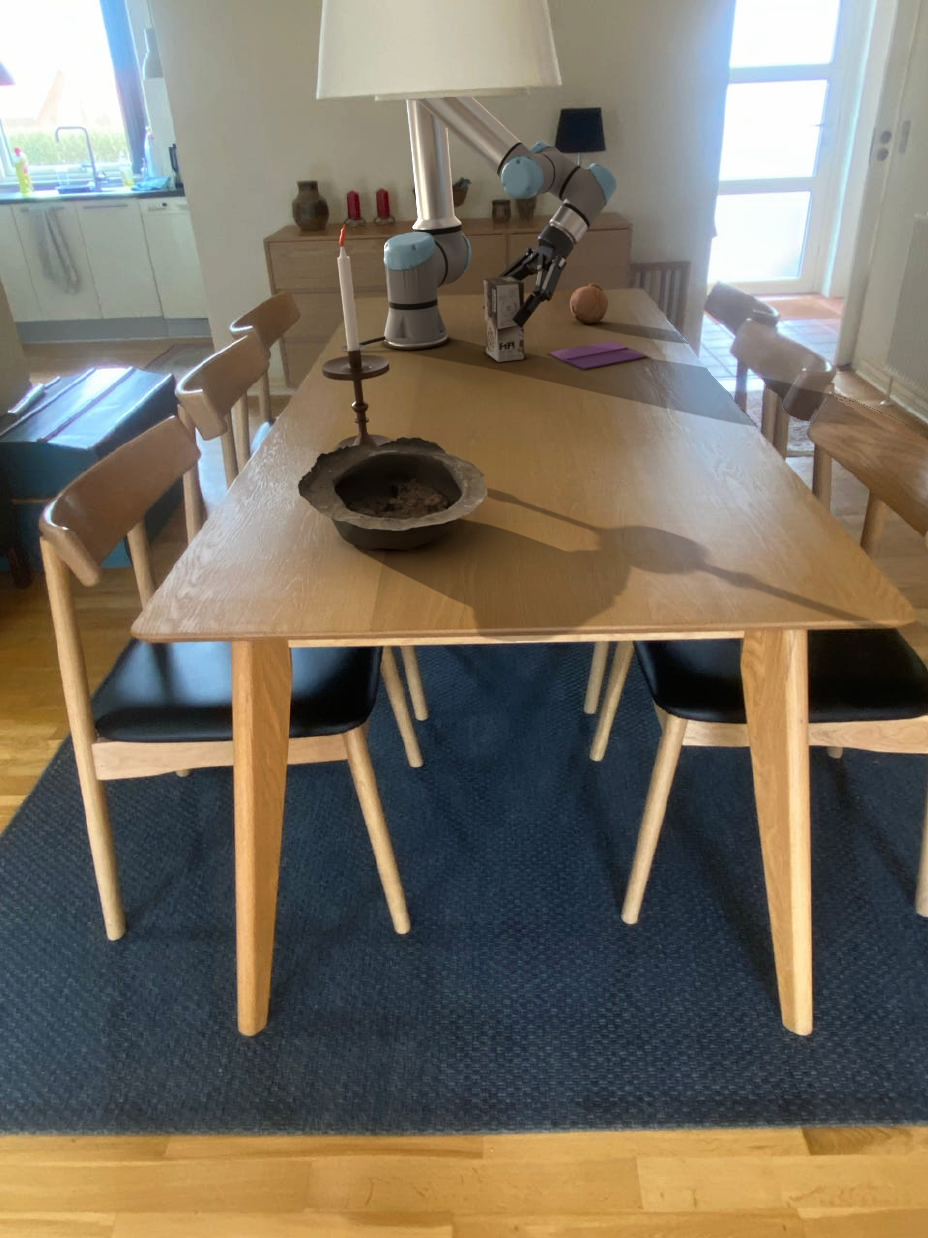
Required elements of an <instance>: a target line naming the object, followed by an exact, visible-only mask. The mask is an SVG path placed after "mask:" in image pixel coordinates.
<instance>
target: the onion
mask: <svg viewBox="0 0 928 1238" xmlns="http://www.w3.org/2000/svg"><path fill="white" fill-rule="evenodd" d="M608 307H609V299H608V297H607V294H606V293H605V292H604V290H603V289H602V288H601V286H599V285H598V284H597V283H594V282H592V283H588V284H586V285H584V286H580V287H579V288H577V289H576V290H574V292H573V293H572V295H571V297H570V300H569V308H570V312H571V313H572V315H573V317H575V319H576V321H577V322H580V324H583V325H586V324H587V325H588V324H595V323H600V321H602V320H603V319H604V317H605V315H606V314H607V311H608Z"/></svg>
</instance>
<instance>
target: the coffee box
mask: <svg viewBox="0 0 928 1238" xmlns="http://www.w3.org/2000/svg"><path fill="white" fill-rule="evenodd" d="M483 294H484V295H483V296H484V297H483V298H484V303H483V304H484V305H485V309H484V322H485V323H484V328H485V329H484V330H485V352H486V354H487V355H488V356H490V357H491V358H492V359H493V360H494V361H496V362H498V363H502V362H511V361H519V360H520V361H521V360H524V359H525V324H524V325H523V327H522V328H521V327H519V326H518V325H517V324H516V323H515V322H514V321H513V320H512V319H513V317H514V316H515V315H516V313H517V312H518V310H519V309H520V308H521V306H522V305H523V304H524V302H525V282H523V280H521V281H520V280H517V279H515V278H513V277H511V276H503V277H498V276H497V277H491V278H484V279H483Z"/></svg>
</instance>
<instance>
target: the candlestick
mask: <svg viewBox="0 0 928 1238" xmlns="http://www.w3.org/2000/svg"><path fill="white" fill-rule="evenodd" d="M345 241H346V224H345V223H344V224H343V227H342V229H341V230H340V237H339V241H338V244H339V246H340V249H339V250H340V252H339V256H338V257H336V259H337V267H338V274H339V275H338V276H339V284H340V285H339V286H340V293H341V301H342V311H343V318H344V319H343V320H344V328H345V336H346V345H344V346H342V347H341V348H340V349H341V351H343V352H347V355H344V356H339V357H336V358H333V359H329V360H327V361H325V362H324V363H323V364H322V365H321V371H322V375H323V377H325V378H326V379H329V380H334V381H345V382H347V381H348V382H349V381H351V382H353V389H354V390H353V391H354V399H355V400H354V401H355V402H353V403H352V404H351V408H352V411H353V412H354V413H356V418H354V424H357V427H358V434H357V435H353V436H349V437H347V438H344V439H343V440H341V441H340V442H338V445H337V449H338V448H339V447H341V448H342V449H344V448H345V447H346V446H349V447H351V446H355V445H359V446H362V445H365V446H368V445H370V447H378V446H379V445H382V444H384V443H387V442H391V441H392V440H391V439H390V438H389V437H387V436H385V435H381V434H374V433H373V434H369V432H368V428H367V426H368V425H367V423H369V422H370V418H369V417H367V414H366V412H367V411H368V409H369V406H370V405H369V403H368V402H367V401H365V400H364V391H363V383H362V382H363V381H365V380H369V379H374V378H378V377H381V376H384V375H385V374H387V373H388V372H389V371H390V361H389V359H388V358H386V357H384V356H380V355H374V354H362V350H365V349H366V348H367V346H366V345H359V343H360V340H359V331H358V321H357V313H356V304H355V294H354V285H353V274H352V266H351V258H350V256H348V255H347V253H346V250H345V247H344V246H345Z"/></svg>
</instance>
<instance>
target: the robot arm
mask: <svg viewBox="0 0 928 1238" xmlns="http://www.w3.org/2000/svg"><path fill="white" fill-rule="evenodd" d="M405 101H406V109H407V119H408V129H409V138H410V148H411V149H410V151H411V158H412V169H413V179H414V180H413V181H414V188H415V198H416V199H415V200H416V208H417V209H416V210H417V220H416V221H415V223H413V224H414V225H413V226H412V232H406V233H404V234H403V233H402V234H398V235H394V236H392V237H391V238H389V239H388V240H386V242H385V243H384V246H383V247H384V249H383V252H384V253H383V254H384V255H383V263H384V270H385V281H386V291H387V300H388V313H387V319H386V322H385V329H384V333H383V336H380V337H375V338H372V339H368V340H364V341H361V342H359V345H364V346H366V345H367V346H368V345H370V344H371V345H372V344H374V343H378V342H382V341H384V345H385V347H388V348H390V349H395V350H403V351H405V350H406V351H416V350H425V349H427V350H428V349H432V348H436V347H439V346H442V345H444V344H446V343H447V342H448V330H447V328H446V325H445V322H444V320H443V316H442V314H441V312H440V311H441V310H440V308H439V301H438V289H439V288H441V287H443V286H446V285H449V284H452V283H454V282H456V281H458V280H459V279H460V278H462V277H463V276H464V275H465V274H466V272H467V271H468V270H469V267H470V266H471V261H472V246H471V243H470V241H469V239H468V238H467V236H465V234H464V233H463V229H462V221H461V220H459V218H457V217H456V215H455V209H454V208H455V207H454V206H455V205H454V195H453V183H452V170H451V158H450V147H449V146H450V145H449V134H448V131H449V132H450V133H452V135H454V136H455V137H456V138H457V139H458V140H459V141H460V142H461V143H462V144H463V145H465V147H466V148H467V149H469V150H470V151H471V152H472V153H473V154H474V155H475V156H476V157H478V159H480V161H481V162H483V164H485V165H486V166H487V167H488V168H489V169H490V170H491V171H493V172H494V173H495V174H496V175H497V176H498V177H499V178H500V179H501V180H500V181H501V185H502V188H503V189H504V192H505V193H506V194H507V195H508V196H509V197H511V198H512V199H516V200H528V199H532V198H533V197H536V196H538V195H542V194H546V193H550V194H551V195H552V196H554V197H555V198H557V199H558V200H560V201H561V202H563V203H562V204H561V205H560V206H559V208H558V209H557V211H556V212H555V214H554V215H553V216H552V218H551V219H550V221H549V224H548V225H546V226H545V228H543V230H542V231H541V233H540V234H539V236H538V238H537V242H538V247H537V248H536V249H535V250H534V249H532V247H530V246H528V247H527V248H526V249H525V251H523V253H522V254H521V255H520V256H518V258H517V259H516V260H515V261H514V262H512V263H511V265H509V266H508V267H507V268H506V269H505V270H504V271H502V272H501V273H500V274H499V275H498V276H497V277H503V276H511V277H513V278H515V279H517V280H520V281H523V280H524V279H526V278H527V277H529V276H534V275H537V277H536V281H535V287H534V290H532V291H531V292H532V293H530V294H529V295H528V296H527V298H526V299H525V300H524V304H523V305H522V306H521V308H520V309H519V310H518V312H517V313H516V315H515V316H514V317H513V319H512V320H513V321H514V322H515V323H516V324H517V325H518V326H519V327H521V328H522V327H523V325H524V326H525V324H526V323H527V321H528V320H529V319H530V317H532V314H534V312H535V311H536V310H537V308H538V307H539V305H540V304H541V303H544V302H545V301H547V302H549V301H551V300H552V299H553V296H554V293H555V290H556V288H557V286H558V283H559V280H560V278H561V275H562V273H563V271H564V269H565V268H566V266H567V264H568V261H567V258H568V257H569V256H570V254H571V253H572V252H573V251H574V247H575V246H576V245H578V244H579V242H580V241H581V240H582V239H583V236H584V235H585V233H586V232H587V230H589V228H590V227H591V225H592V224H593V222H595V220H596V219H597V217H598V216H599V215H600V213H601V212H602V211H603V210H604V208H605V207H606V206H607V205H608V202H609V201H610V199H611V198H612V196H613V195H614V193H615V192H616V190H617V187H618V183H617V179H616V177H615V175H614V174H613V173H612V172H611V171H610V170H609V169H608V168H607V167H606V166H604V165H603V164H599V163H597V162H594V163H591V164H590V165H589V166H588V167H587V168H584V167H583V166H581V165H579V164H578V163H576V162H575V161H574V160H572V159H571V158H569V157H568V155H566V154H564V153H563V152H561V151H560V150H559V149H558V148H557V147H556V146H554V145H551V144H550V143H548V142H547V141H544V140H539V141H537V142H536V143H535V144H534V145H532V147H531V148H530V149H529V148H528V147H527V146H526V145H525V144H524V143H523V142H522V141H521V140H519V139H518V138H517V136H515V135H514V134H513V133H512V132H511V131H510V130H509V129H508V128H507V127H506V126H504V125H503V124H502V122H500V121H499V120H498V119H497V118H496V117H495V116H494V115H493V114H492V113H490V111H489V110H487V109H486V108H485V107H484V106H483V105H482V104H481V103H480V102H479V101H478V100H476V98H474V97H473V96H472V97H444V98H424V99H405ZM482 309H483V310H485V304H484V306H482Z"/></svg>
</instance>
